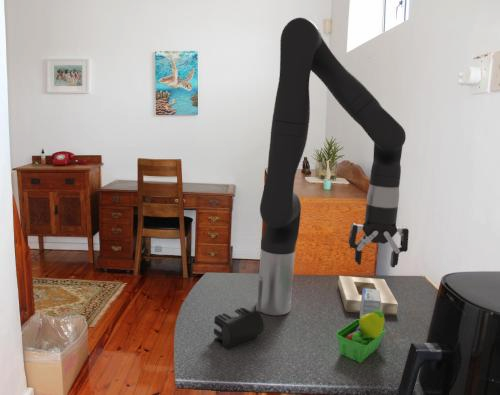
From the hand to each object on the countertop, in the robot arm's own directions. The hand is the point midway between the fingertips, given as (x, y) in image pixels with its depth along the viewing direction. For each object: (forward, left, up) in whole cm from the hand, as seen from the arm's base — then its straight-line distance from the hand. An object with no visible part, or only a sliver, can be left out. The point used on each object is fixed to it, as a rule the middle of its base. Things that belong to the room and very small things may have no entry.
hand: (375, 265), depth 116 cm
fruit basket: (-4, -14, -17) cm, 22 cm away
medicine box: (0, 0, -17) cm, 17 cm away
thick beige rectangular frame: (+2, +16, -17) cm, 23 cm away
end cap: (-33, -14, -17) cm, 40 cm away
